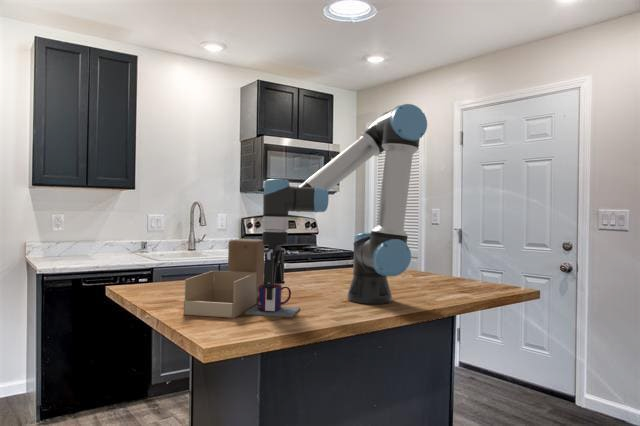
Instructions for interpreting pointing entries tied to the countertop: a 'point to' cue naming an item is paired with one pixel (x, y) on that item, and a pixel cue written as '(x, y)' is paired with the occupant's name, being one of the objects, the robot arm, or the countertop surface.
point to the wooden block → (247, 258)
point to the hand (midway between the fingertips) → (273, 307)
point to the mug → (277, 297)
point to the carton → (220, 293)
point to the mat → (281, 312)
